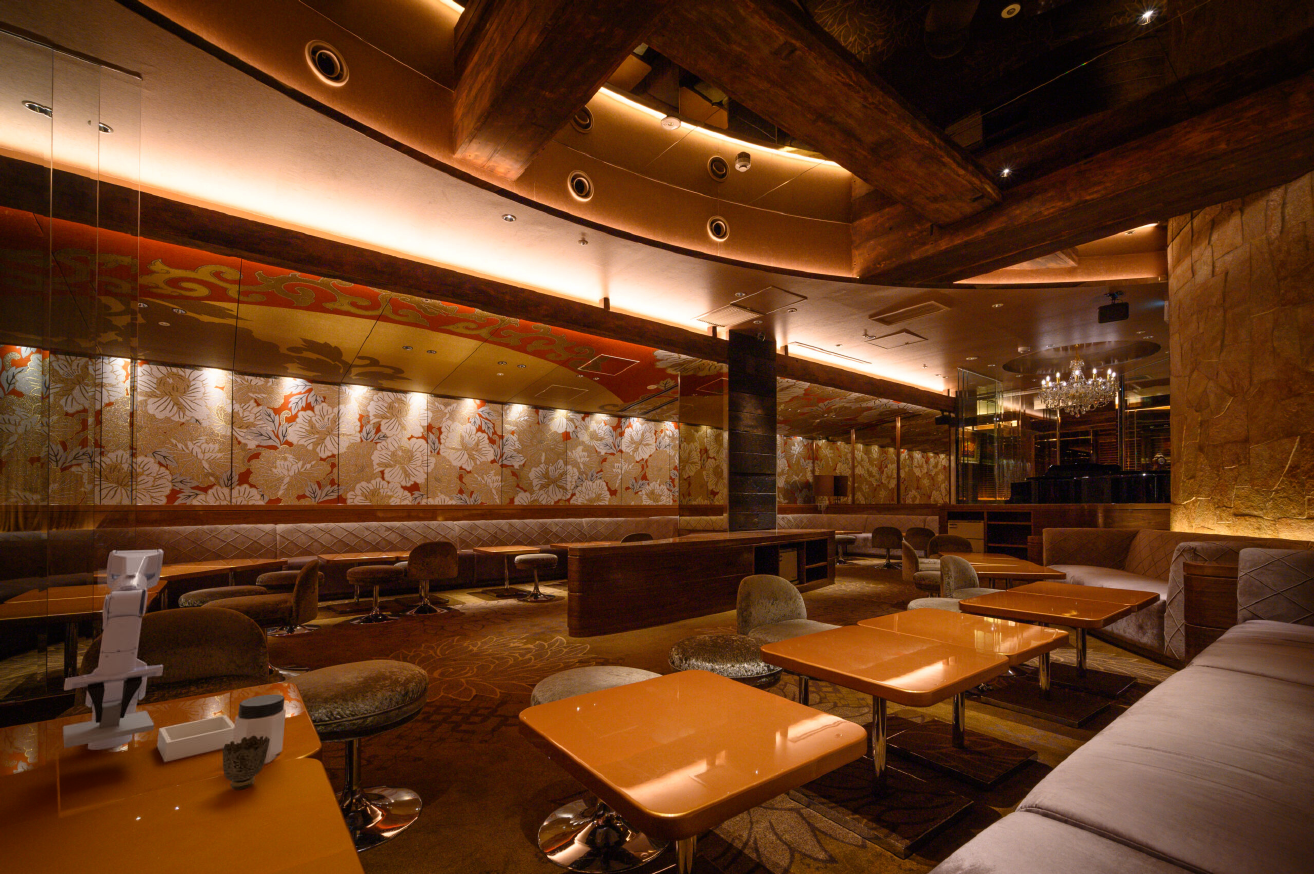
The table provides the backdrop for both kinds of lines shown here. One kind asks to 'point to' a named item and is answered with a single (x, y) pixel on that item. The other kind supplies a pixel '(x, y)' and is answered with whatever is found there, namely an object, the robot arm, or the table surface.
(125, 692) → the robot arm
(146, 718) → the lid
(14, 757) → the table surface
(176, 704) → the table surface
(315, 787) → the table surface
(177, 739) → the box
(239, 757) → the cup
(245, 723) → the jar
